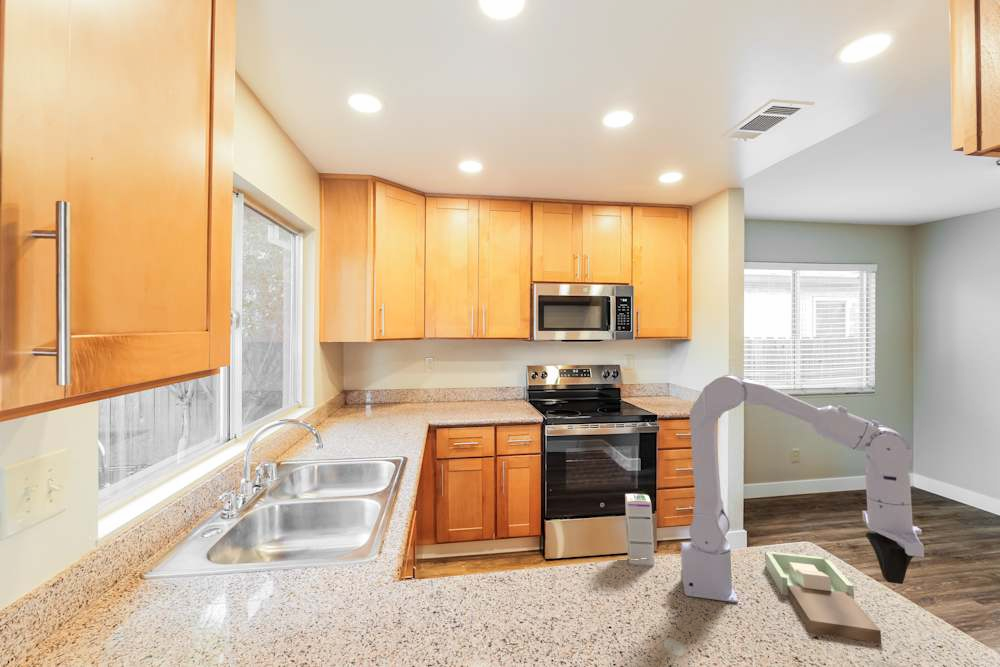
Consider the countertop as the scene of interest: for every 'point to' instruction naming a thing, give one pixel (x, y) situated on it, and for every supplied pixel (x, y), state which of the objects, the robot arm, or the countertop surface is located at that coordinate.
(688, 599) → the countertop surface
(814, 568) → the tile
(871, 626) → the board
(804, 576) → the tile
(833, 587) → the tray
